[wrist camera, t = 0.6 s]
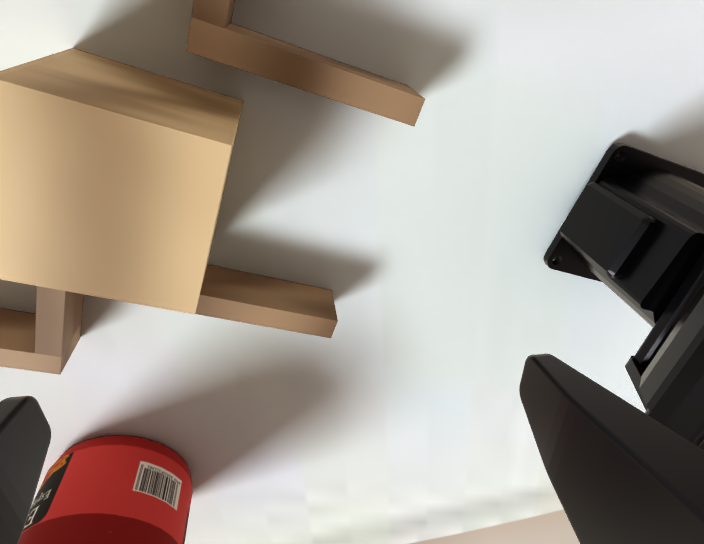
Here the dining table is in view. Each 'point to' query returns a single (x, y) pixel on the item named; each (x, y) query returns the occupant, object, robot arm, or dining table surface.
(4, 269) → the block
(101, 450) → the canned food
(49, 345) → the channel
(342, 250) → the dining table surface
